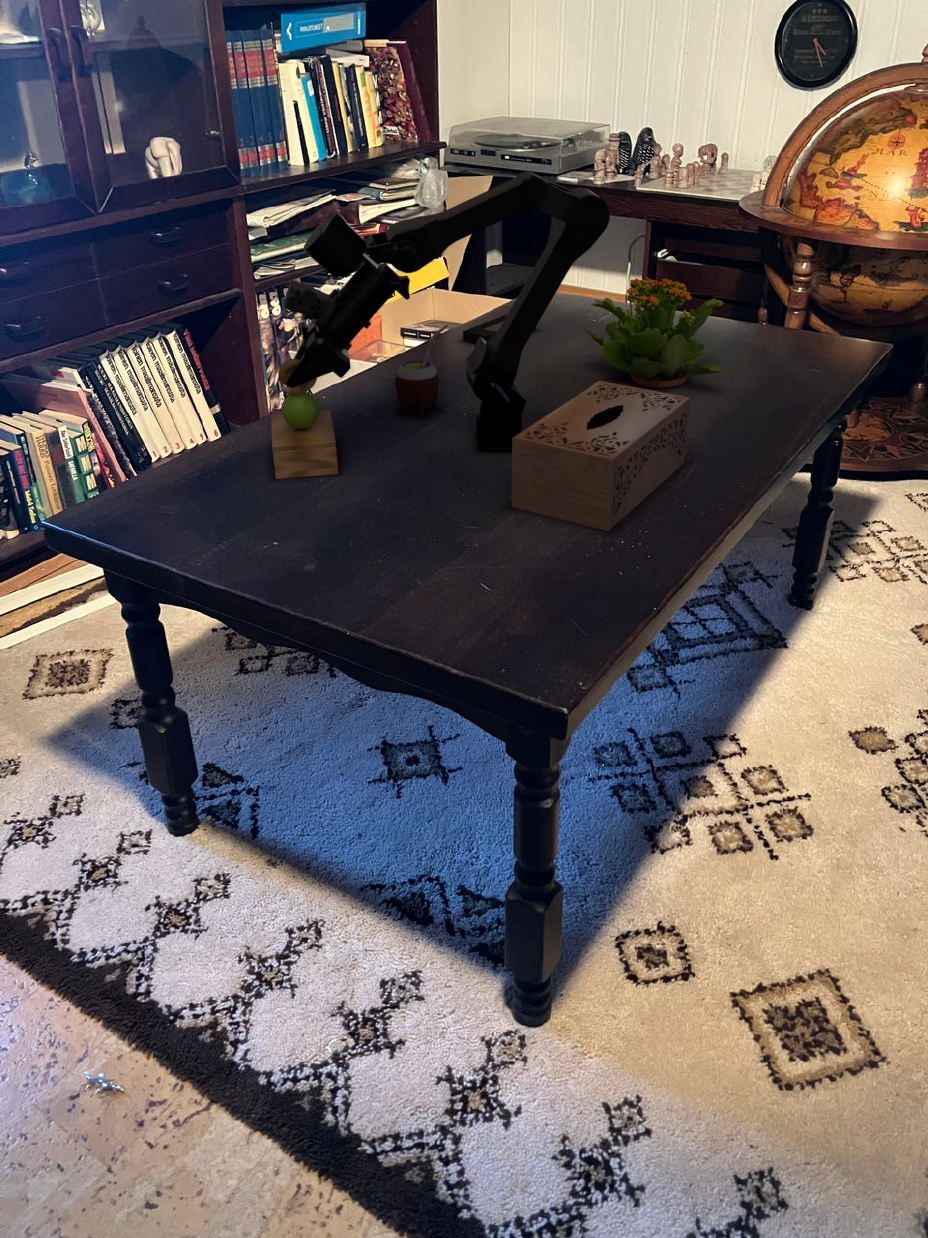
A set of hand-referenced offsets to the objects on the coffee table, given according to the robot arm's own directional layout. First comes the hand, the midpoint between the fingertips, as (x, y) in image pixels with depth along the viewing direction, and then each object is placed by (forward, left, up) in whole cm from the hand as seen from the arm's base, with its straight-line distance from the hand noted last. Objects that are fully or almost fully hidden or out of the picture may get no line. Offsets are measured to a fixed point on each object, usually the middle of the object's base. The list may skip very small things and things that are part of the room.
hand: (288, 382), depth 151 cm
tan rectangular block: (-1, 0, -12) cm, 12 cm away
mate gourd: (-16, -21, -12) cm, 29 cm away
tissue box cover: (-45, +6, -12) cm, 47 cm away
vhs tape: (-27, -64, -12) cm, 70 cm away
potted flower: (-56, -38, -12) cm, 69 cm away
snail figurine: (-2, -1, -7) cm, 7 cm away
